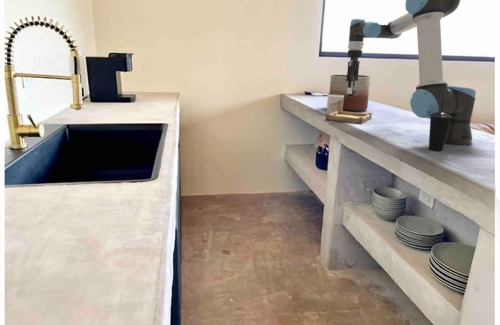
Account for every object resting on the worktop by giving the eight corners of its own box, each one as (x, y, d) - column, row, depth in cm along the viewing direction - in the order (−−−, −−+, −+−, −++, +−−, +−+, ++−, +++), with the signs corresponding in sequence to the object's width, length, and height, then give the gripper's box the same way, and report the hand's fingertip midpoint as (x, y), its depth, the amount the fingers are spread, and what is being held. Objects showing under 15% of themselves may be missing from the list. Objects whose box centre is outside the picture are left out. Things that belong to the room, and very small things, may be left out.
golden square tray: (361, 123, 197) (362, 117, 196) (325, 119, 207) (326, 114, 206) (371, 118, 213) (371, 113, 212) (337, 115, 223) (338, 109, 222)
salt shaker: (355, 97, 203) (357, 74, 199) (344, 96, 205) (346, 74, 201) (356, 96, 208) (358, 74, 205) (346, 95, 210) (348, 73, 207)
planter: (361, 113, 231) (364, 77, 224) (322, 110, 243) (324, 75, 237) (371, 108, 252) (374, 75, 245) (335, 105, 264) (337, 74, 258)
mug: (322, 113, 231) (323, 95, 228) (334, 111, 238) (335, 93, 235) (336, 115, 223) (338, 96, 220) (347, 113, 231) (349, 95, 228)
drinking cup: (423, 150, 144) (431, 98, 138) (426, 146, 150) (434, 96, 144) (444, 153, 140) (453, 100, 134) (447, 149, 146) (456, 98, 140)
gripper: (356, 49, 190) (352, 95, 196) (366, 50, 205) (362, 92, 212) (342, 49, 193) (338, 94, 200) (353, 49, 209) (349, 91, 216)
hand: (351, 93), depth 206 cm, fingers closed on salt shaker, 6 cm apart
